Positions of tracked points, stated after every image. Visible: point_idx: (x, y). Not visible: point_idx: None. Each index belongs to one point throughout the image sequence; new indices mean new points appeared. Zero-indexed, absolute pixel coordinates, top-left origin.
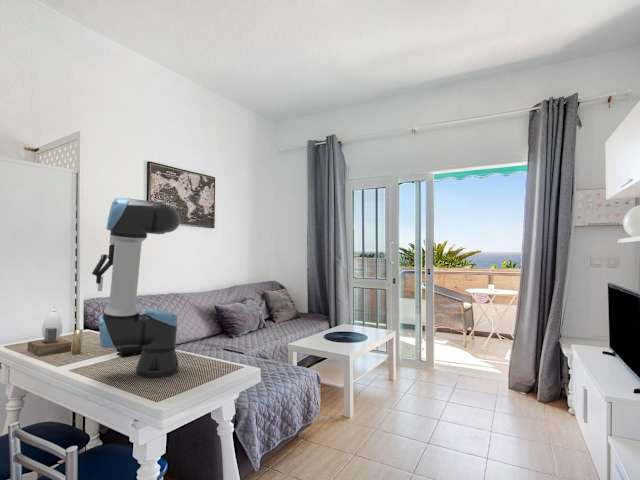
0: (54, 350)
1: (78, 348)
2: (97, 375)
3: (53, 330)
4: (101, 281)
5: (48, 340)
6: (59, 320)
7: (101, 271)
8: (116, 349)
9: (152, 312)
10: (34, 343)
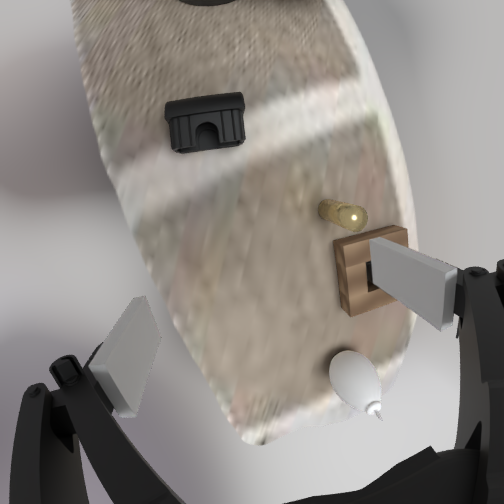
0: (372, 233)
1: (331, 200)
2: (318, 14)
3: None
4: (423, 255)
5: None
6: (354, 381)
7: (495, 296)
8: (242, 143)
9: None
10: None
